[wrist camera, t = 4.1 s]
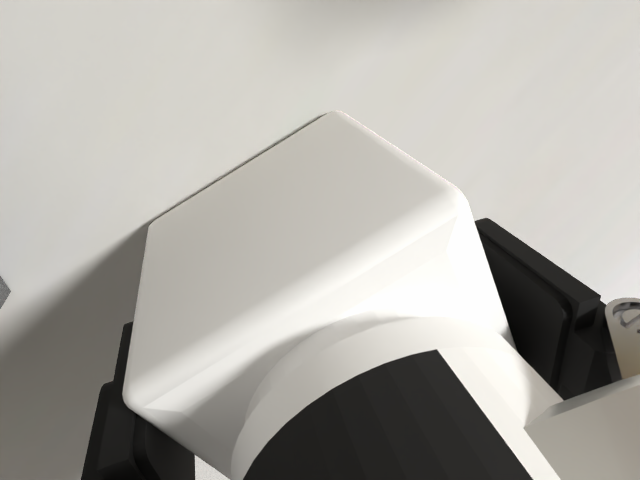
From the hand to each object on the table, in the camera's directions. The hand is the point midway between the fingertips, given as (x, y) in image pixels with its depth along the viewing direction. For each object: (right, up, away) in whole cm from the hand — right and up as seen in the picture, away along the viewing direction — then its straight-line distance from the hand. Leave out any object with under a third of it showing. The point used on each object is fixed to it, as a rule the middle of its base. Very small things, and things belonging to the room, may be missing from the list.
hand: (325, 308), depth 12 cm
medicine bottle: (-1, +2, +3) cm, 4 cm away
